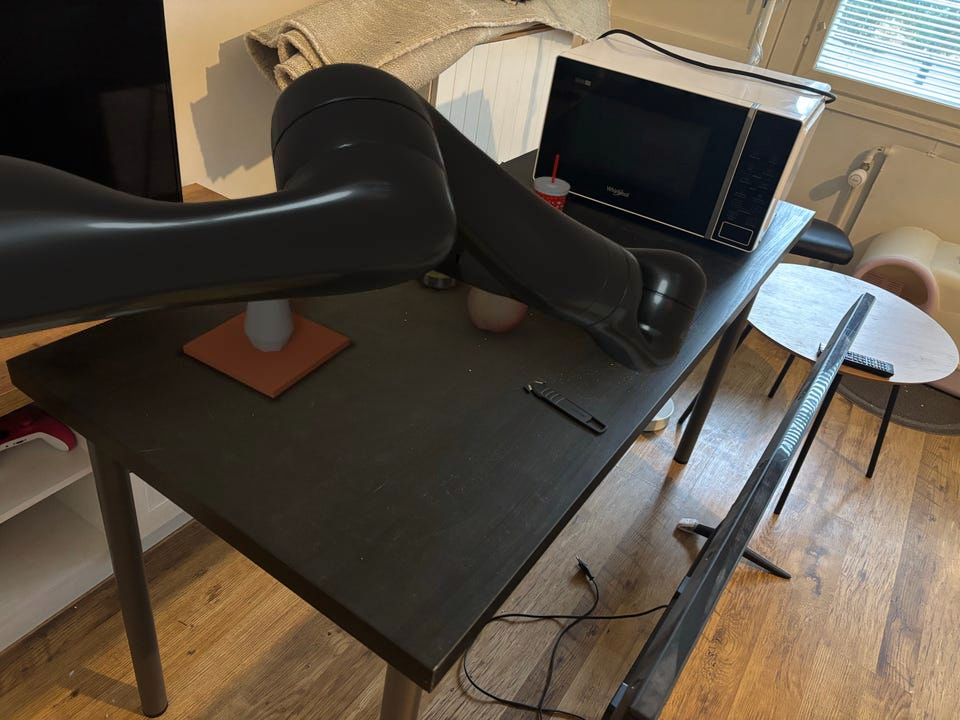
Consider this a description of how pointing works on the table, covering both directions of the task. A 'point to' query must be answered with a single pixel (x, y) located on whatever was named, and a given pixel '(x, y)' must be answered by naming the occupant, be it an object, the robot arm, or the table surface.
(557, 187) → the beverage cup
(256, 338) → the salt shaker
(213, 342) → the mat
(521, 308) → the fruit
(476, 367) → the table surface
